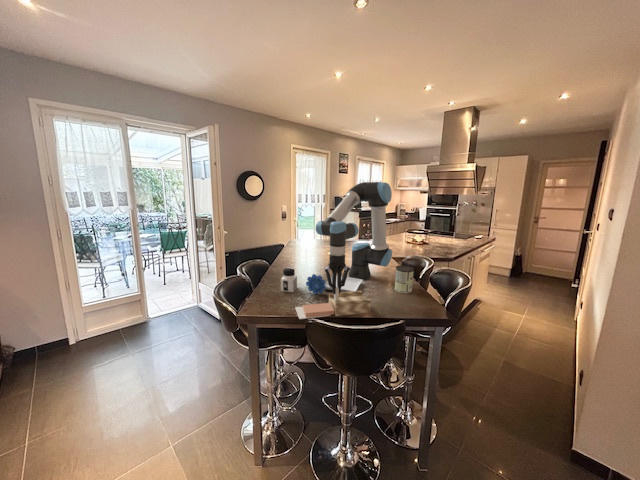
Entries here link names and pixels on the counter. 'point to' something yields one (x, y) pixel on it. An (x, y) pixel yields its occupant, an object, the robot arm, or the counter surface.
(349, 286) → the salad plate
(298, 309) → the mat
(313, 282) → the grapes
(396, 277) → the coffee can
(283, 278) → the container
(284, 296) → the counter surface
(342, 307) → the box
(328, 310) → the block
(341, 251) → the robot arm
